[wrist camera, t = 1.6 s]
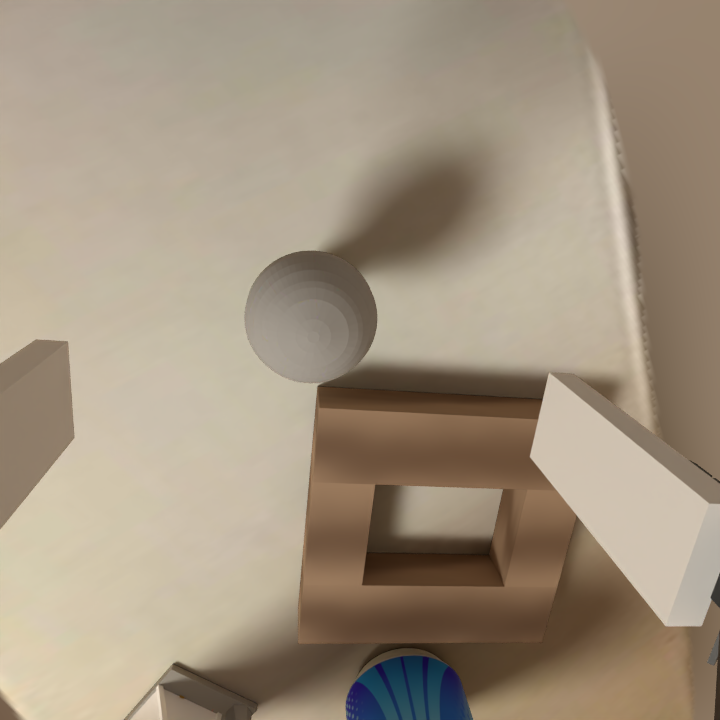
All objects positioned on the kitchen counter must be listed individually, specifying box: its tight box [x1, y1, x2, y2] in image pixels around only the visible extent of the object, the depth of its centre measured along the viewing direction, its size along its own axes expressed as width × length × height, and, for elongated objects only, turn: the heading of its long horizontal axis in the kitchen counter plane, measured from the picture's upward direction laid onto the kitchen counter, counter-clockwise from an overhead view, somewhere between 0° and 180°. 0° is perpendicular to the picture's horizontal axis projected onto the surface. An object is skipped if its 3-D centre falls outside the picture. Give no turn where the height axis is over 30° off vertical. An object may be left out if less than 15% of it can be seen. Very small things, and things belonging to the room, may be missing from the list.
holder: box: [298, 386, 577, 644], centre depth 34 cm, size 16×16×3 cm
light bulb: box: [245, 251, 377, 383], centre depth 25 cm, size 5×5×10 cm
